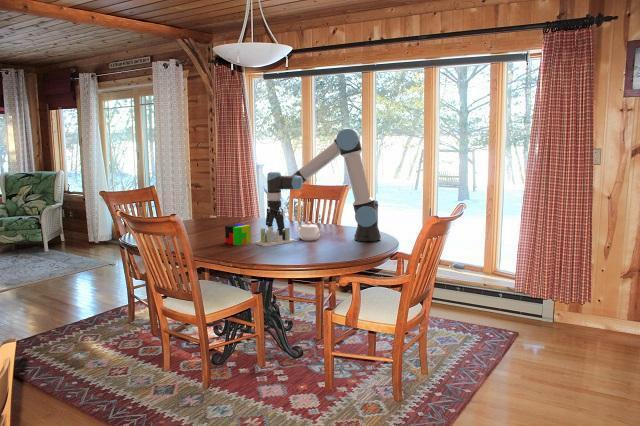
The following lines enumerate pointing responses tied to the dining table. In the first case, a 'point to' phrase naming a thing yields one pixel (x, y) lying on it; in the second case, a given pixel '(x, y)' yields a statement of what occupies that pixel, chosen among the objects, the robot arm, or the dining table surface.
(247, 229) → the puzzle toy
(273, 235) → the bar
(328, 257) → the dining table surface
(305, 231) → the teapot
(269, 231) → the rack
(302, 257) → the dining table surface
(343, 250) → the dining table surface
